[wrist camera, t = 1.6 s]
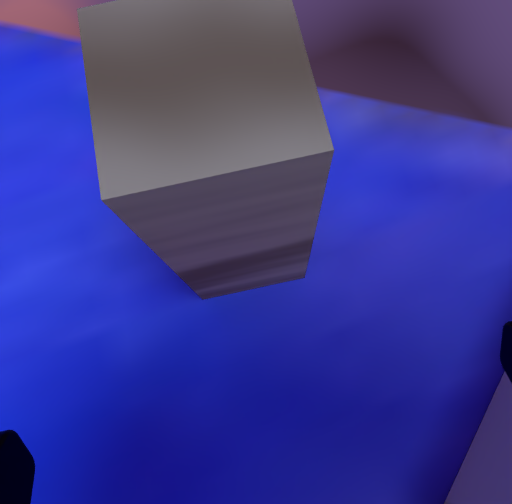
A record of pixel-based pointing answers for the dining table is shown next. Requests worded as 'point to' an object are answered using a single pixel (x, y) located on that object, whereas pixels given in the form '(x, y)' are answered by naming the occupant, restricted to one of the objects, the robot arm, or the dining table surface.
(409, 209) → the dining table surface
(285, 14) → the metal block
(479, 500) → the box
